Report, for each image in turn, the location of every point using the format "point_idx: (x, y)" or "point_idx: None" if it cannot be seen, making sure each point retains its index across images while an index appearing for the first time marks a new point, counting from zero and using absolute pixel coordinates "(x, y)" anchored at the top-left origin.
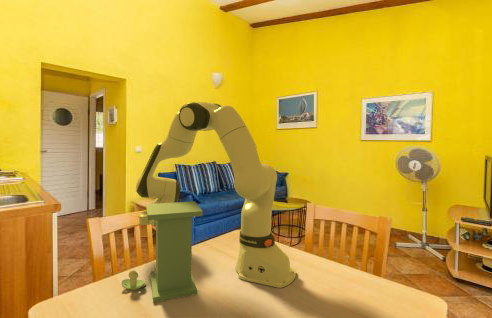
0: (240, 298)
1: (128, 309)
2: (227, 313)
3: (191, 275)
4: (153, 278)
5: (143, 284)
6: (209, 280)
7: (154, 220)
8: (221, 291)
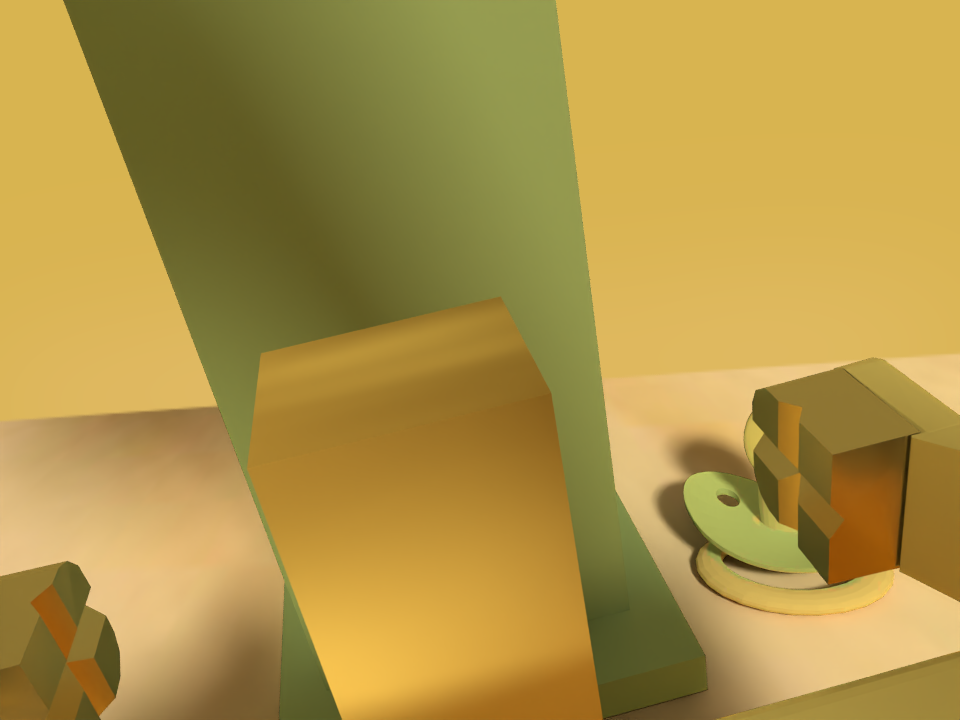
0: (67, 488)
1: (700, 390)
2: (196, 407)
3: (285, 625)
4: (639, 574)
5: (687, 484)
6: (149, 649)
7: (867, 404)
8: (134, 534)
